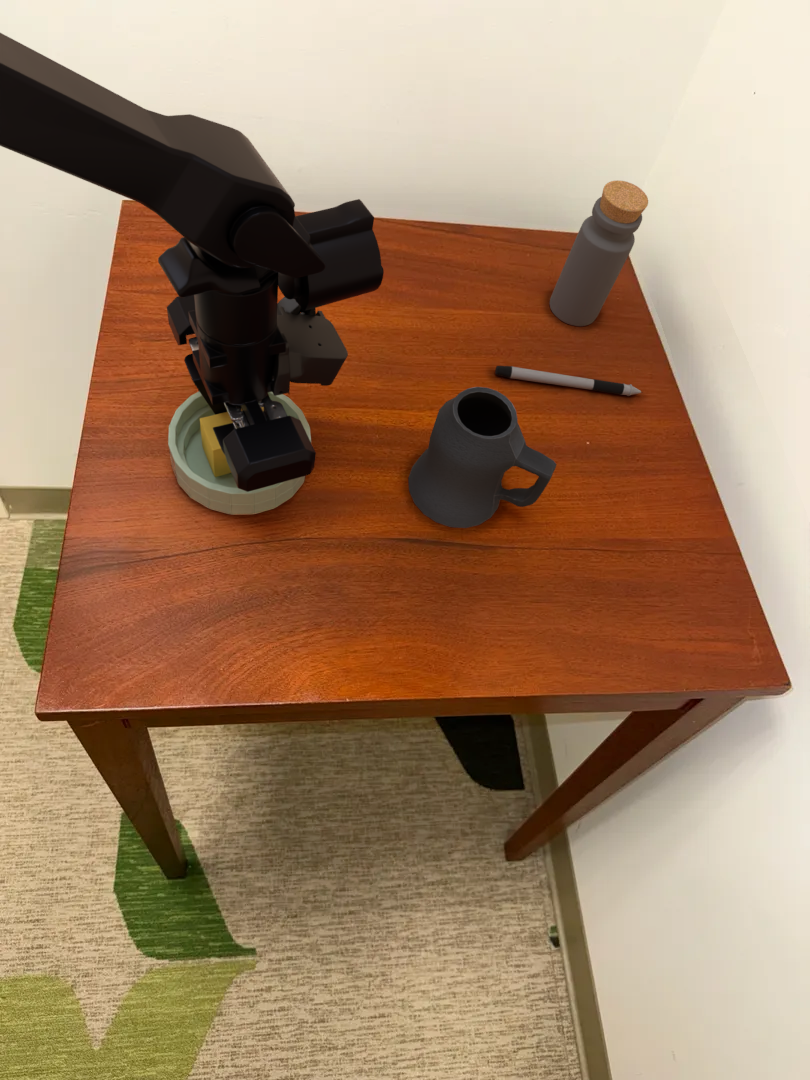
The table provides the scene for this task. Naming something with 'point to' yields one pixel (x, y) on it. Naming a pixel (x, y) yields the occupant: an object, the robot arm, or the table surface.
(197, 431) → the bowl
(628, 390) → the pen
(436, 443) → the mug
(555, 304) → the bottle
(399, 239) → the table surface
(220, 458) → the sponge
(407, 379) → the table surface
